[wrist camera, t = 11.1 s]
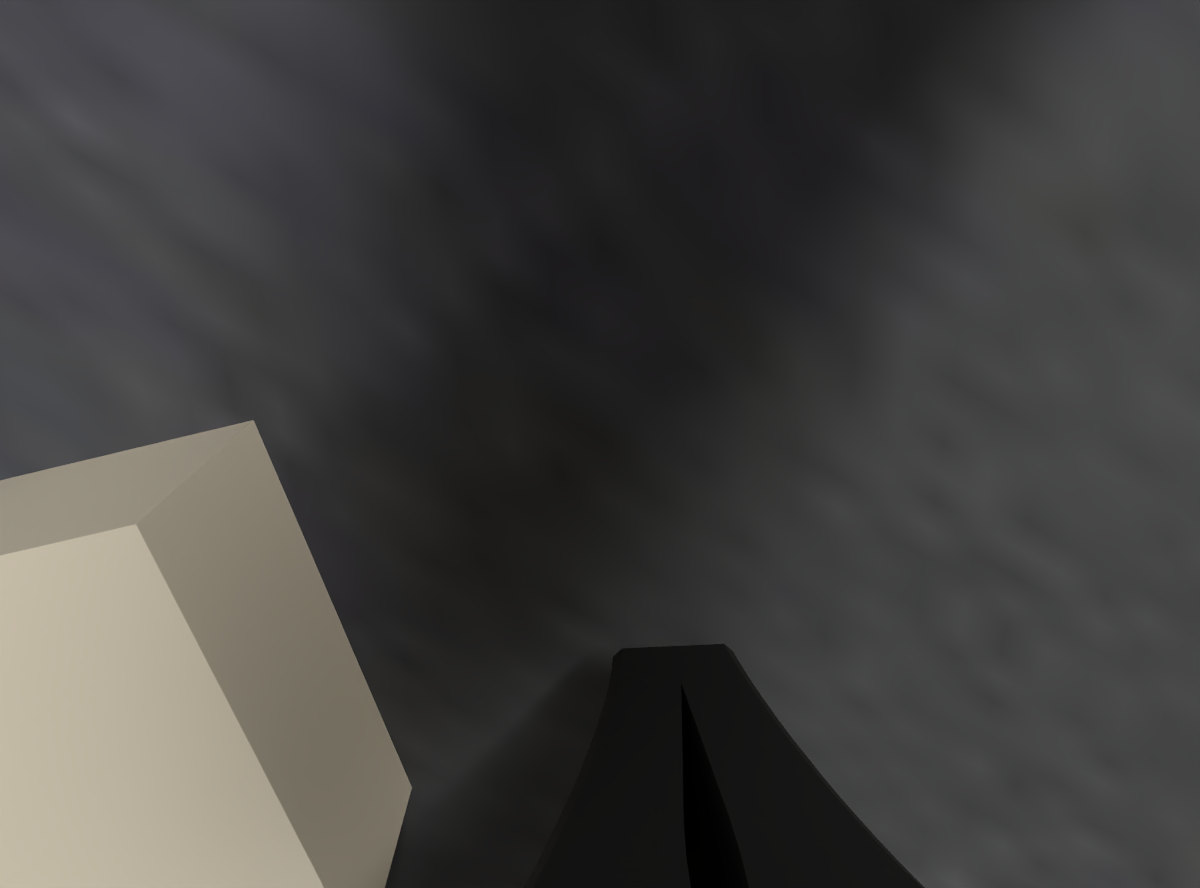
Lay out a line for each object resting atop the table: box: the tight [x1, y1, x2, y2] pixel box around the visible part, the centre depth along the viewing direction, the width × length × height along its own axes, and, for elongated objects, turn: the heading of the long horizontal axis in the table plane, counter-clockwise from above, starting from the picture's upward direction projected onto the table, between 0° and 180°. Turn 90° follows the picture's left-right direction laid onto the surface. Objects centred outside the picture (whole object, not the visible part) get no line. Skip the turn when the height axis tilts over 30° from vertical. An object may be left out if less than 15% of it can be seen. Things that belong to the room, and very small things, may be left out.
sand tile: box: [0, 420, 412, 888], centre depth 10 cm, size 6×6×3 cm
